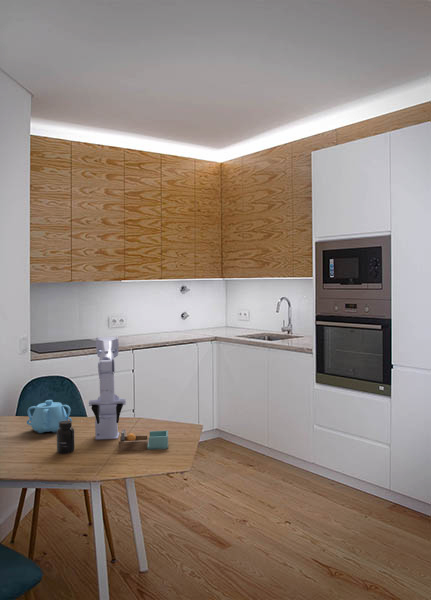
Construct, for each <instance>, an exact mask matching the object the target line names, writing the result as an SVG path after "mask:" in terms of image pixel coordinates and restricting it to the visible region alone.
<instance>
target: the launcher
mask: <svg viewBox="0 0 431 600" xmlns="http://www.w3.org/2000/svg"><path fill="white" fill-rule="evenodd" d="M134 435H135V434H134ZM127 436H128V435H126V441H121V435H119V437H120V438H119V439H120V440H119V441H118V443H117V444H118V452H123V451H125V452H126V451H127V452H128V451H144V450H145V451H146V450H148V441H149V440H148V434H138V435H137V434H136V435H135V436H136V439H135V441H128V440H127Z"/></svg>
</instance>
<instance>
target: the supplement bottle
mask: <svg viewBox="0 0 431 600" xmlns="http://www.w3.org/2000/svg"><path fill="white" fill-rule="evenodd" d="M72 422H73V421H72ZM72 422H71V421H70V419H68V420H65V421H61V422H59V429H58V430H57V432H56V452H57V453H58V454H60V455H67V454H71V453H73V452H75V428H74V427H72V426H73V425H72V424H73V423H72Z"/></svg>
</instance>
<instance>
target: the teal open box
mask: <svg viewBox="0 0 431 600" xmlns="http://www.w3.org/2000/svg"><path fill="white" fill-rule="evenodd" d="M147 441H148V444H147V450H148V451H149V450H151V451H152V450H167V449H169V430H149V436H148V440H147Z"/></svg>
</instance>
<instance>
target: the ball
mask: <svg viewBox="0 0 431 600" xmlns="http://www.w3.org/2000/svg"><path fill="white" fill-rule="evenodd" d="M126 436H127V440H128V441H135V439H136V436H135V433H128V435H126Z"/></svg>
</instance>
